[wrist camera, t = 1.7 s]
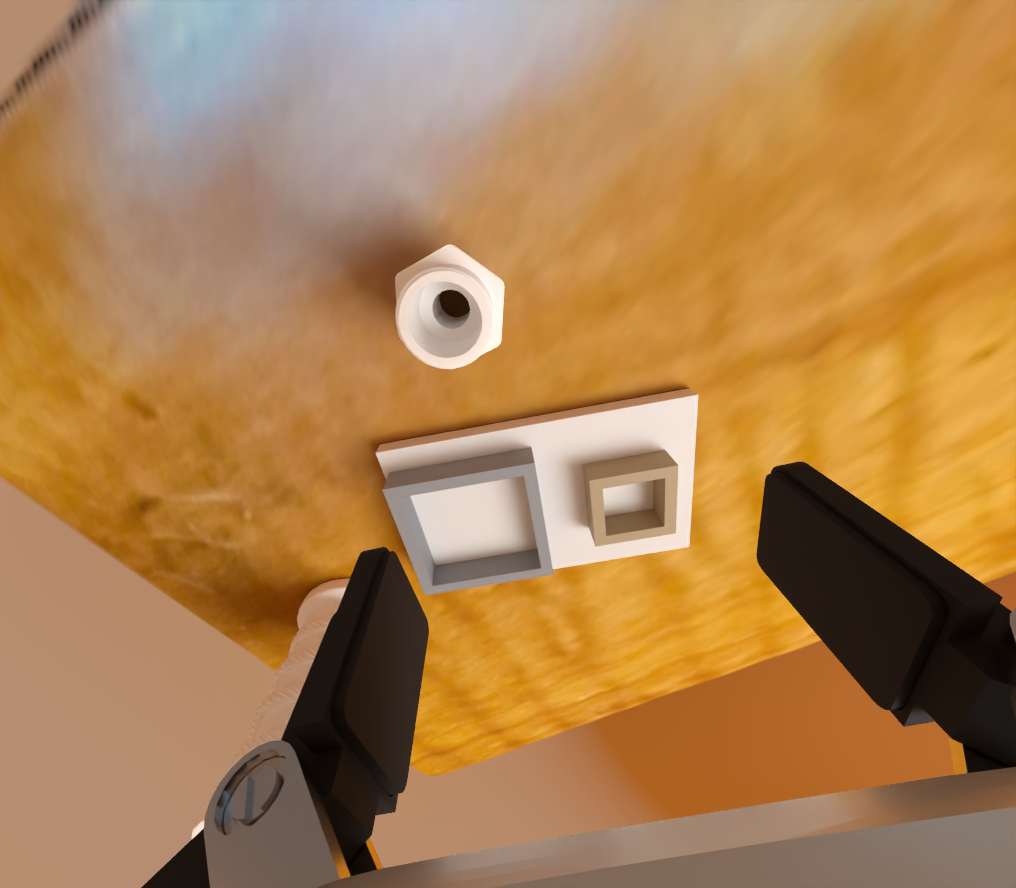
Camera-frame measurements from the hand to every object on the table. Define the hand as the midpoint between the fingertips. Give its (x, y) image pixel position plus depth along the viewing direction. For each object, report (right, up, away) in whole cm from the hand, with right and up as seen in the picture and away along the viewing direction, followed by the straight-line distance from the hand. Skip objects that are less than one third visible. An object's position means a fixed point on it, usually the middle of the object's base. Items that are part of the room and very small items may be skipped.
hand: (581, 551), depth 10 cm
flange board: (+1, -2, +26) cm, 26 cm away
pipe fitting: (-6, +13, +18) cm, 23 cm away
